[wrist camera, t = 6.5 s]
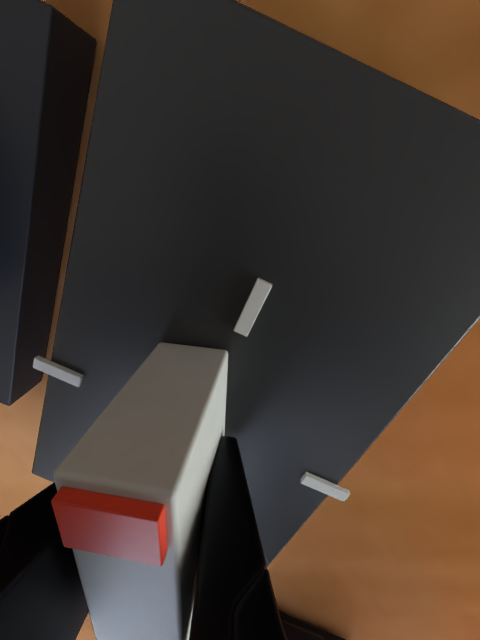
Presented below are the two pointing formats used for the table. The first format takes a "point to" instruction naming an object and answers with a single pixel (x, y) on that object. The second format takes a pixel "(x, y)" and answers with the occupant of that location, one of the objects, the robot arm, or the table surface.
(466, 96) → the table surface
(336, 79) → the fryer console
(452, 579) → the table surface
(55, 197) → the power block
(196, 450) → the grey block red tip
